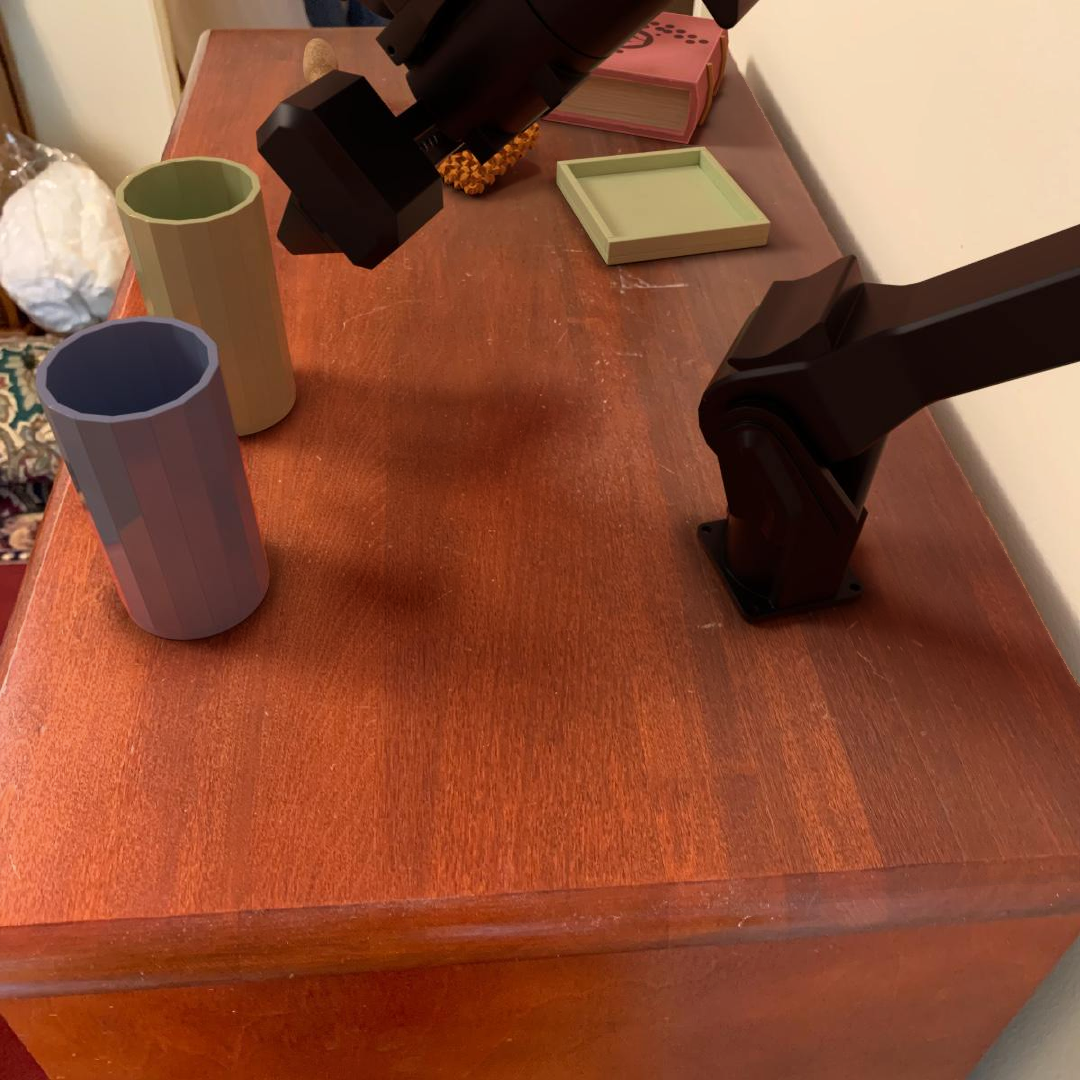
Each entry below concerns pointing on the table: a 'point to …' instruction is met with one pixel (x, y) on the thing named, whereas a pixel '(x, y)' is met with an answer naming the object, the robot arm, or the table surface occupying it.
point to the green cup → (213, 273)
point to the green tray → (660, 205)
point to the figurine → (318, 60)
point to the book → (653, 81)
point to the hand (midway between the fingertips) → (343, 200)
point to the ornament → (475, 179)
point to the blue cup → (159, 471)
